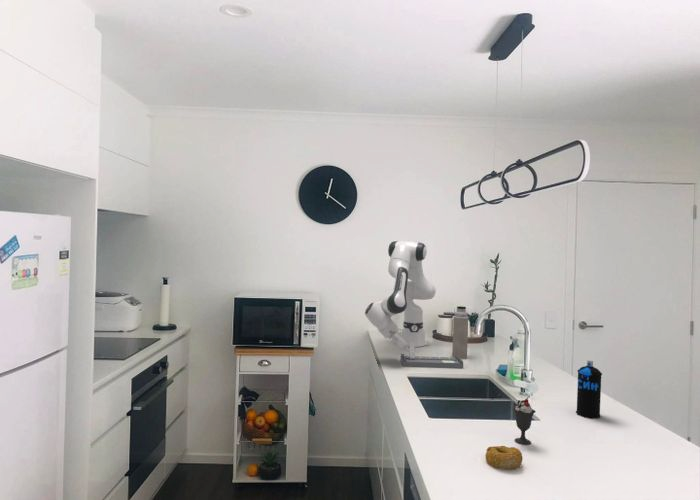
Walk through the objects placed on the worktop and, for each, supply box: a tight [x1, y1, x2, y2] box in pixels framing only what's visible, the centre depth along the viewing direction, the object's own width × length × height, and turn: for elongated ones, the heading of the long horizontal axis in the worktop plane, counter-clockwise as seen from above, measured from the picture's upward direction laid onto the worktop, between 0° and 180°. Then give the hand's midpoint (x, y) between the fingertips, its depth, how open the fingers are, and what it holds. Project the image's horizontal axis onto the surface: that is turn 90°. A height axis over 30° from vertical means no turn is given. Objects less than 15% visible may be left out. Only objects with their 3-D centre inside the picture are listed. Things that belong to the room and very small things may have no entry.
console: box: [400, 353, 464, 369], centre depth 247 cm, size 13×30×4 cm, turn 90°
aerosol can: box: [575, 359, 603, 419], centre depth 177 cm, size 8×8×20 cm
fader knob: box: [408, 340, 416, 359], centre depth 246 cm, size 3×2×9 cm
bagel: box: [484, 445, 524, 471], centre depth 135 cm, size 10×11×5 cm
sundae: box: [512, 395, 536, 446], centre depth 150 cm, size 7×7×15 cm
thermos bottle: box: [451, 305, 469, 360], centre depth 265 cm, size 8×8×28 cm
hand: (408, 349), depth 247 cm, fingers closed
